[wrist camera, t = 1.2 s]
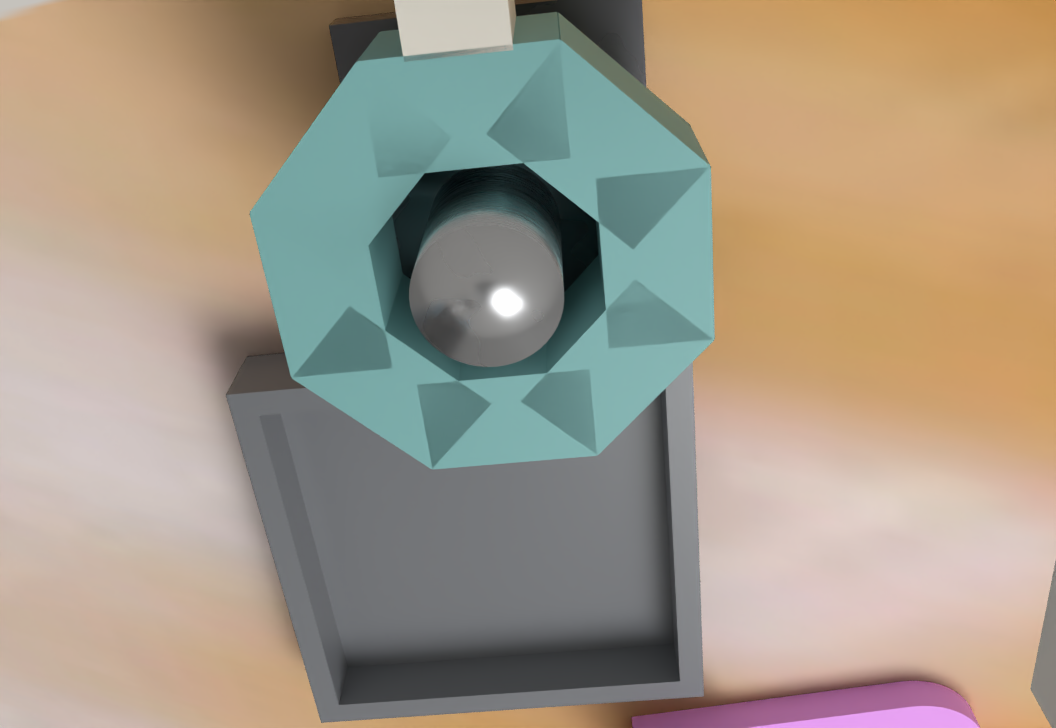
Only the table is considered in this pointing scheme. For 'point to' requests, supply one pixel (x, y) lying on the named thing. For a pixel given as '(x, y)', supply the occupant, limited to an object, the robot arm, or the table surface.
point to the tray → (477, 560)
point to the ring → (472, 142)
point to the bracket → (832, 710)
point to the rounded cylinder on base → (496, 217)
